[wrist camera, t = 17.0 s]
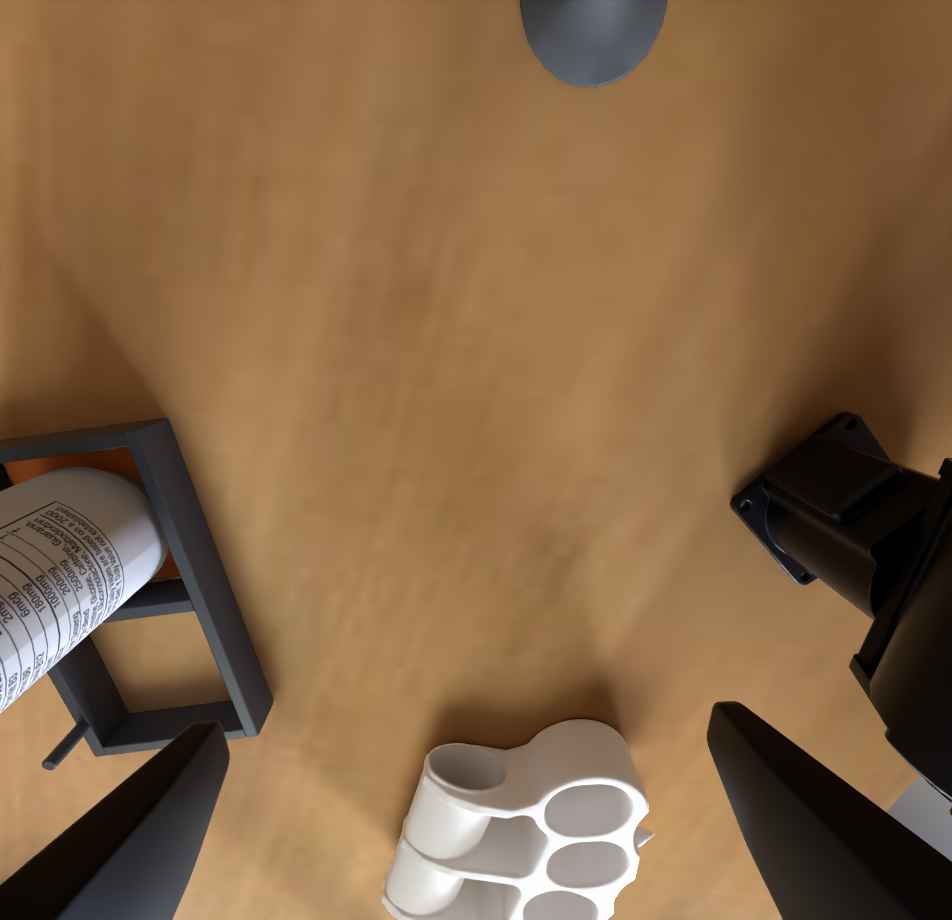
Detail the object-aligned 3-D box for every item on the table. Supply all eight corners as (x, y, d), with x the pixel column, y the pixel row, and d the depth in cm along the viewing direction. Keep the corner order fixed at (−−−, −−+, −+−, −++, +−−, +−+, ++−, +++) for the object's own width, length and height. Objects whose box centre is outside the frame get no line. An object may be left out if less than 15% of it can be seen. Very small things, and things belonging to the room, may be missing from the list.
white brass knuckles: (443, 689, 25) (684, 735, 26) (375, 890, 30) (578, 917, 32) (441, 746, 21) (714, 795, 23) (366, 959, 27) (591, 985, 29)
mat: (155, 440, 19) (152, 441, 19) (205, 570, 22) (203, 572, 21) (6, 460, 20) (1, 461, 19) (71, 587, 22) (67, 590, 22)
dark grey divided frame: (168, 417, 19) (96, 445, 15) (273, 703, 25) (239, 776, 21) (-25, 443, 19) (-143, 477, 15) (122, 722, 25) (61, 798, 21)
